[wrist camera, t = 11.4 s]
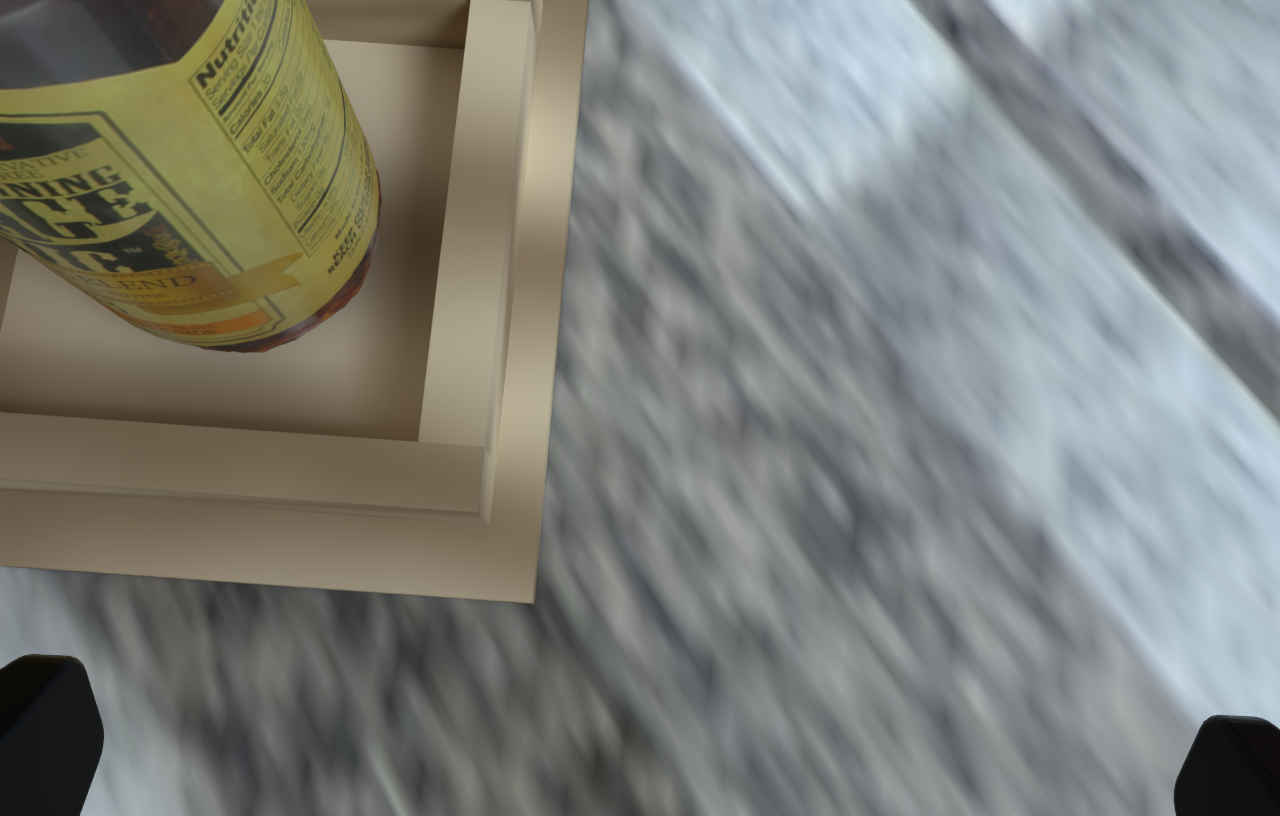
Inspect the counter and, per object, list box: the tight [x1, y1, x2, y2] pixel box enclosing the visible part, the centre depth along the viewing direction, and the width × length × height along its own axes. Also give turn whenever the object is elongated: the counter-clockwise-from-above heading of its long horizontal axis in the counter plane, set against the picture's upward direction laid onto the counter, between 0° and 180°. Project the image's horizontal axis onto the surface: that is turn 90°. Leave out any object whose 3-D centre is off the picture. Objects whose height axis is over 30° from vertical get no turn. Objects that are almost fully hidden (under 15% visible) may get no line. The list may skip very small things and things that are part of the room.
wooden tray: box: [0, 0, 589, 604], centre depth 23 cm, size 17×14×2 cm
